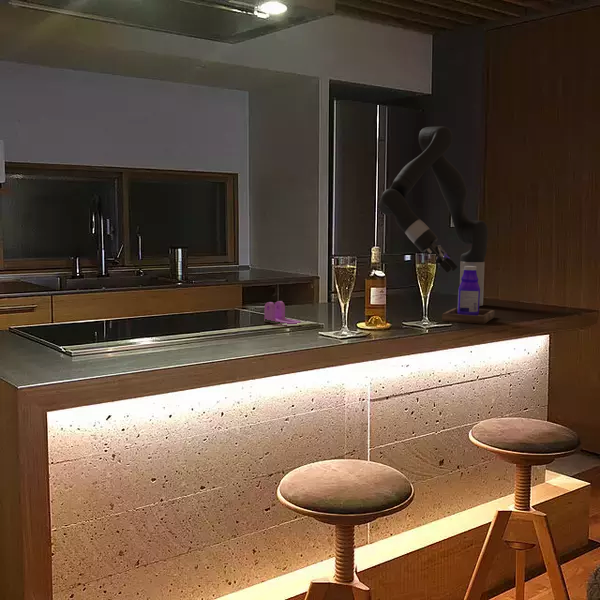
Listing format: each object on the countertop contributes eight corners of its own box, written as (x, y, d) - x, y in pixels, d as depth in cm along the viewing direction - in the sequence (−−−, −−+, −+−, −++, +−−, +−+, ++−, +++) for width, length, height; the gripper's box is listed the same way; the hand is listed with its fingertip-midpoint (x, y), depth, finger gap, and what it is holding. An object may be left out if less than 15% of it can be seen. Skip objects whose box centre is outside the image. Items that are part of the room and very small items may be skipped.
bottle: (478, 316, 269) (479, 265, 267) (479, 318, 264) (481, 266, 262) (456, 315, 270) (458, 265, 268) (458, 317, 264) (459, 266, 262)
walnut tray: (454, 314, 278) (454, 307, 278) (494, 317, 272) (494, 310, 272) (442, 321, 262) (442, 313, 261) (484, 323, 256) (484, 316, 256)
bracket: (264, 323, 254) (264, 301, 253) (277, 321, 258) (277, 300, 257) (291, 327, 244) (291, 305, 244) (304, 326, 248) (304, 304, 247)
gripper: (423, 228, 263) (456, 263, 260) (434, 227, 276) (465, 261, 273) (407, 243, 266) (440, 278, 262) (419, 242, 279) (449, 275, 275)
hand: (452, 269), depth 267 cm, fingers open, 8 cm apart
